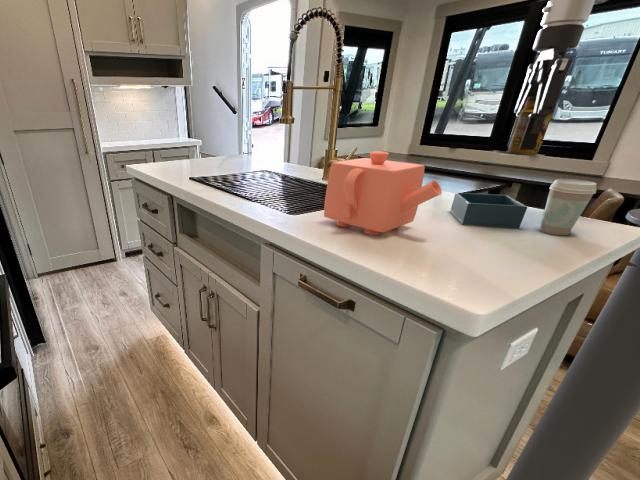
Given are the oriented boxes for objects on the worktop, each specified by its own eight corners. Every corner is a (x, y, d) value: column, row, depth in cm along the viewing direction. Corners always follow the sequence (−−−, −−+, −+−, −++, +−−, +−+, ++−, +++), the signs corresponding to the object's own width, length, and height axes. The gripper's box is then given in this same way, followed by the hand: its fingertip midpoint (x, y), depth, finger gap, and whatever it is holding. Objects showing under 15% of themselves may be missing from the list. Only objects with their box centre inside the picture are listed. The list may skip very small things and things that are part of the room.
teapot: (449, 231, 89) (471, 154, 80) (402, 252, 76) (423, 164, 68) (361, 211, 106) (372, 145, 97) (311, 225, 93) (319, 151, 84)
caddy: (500, 215, 102) (507, 195, 100) (519, 228, 91) (527, 206, 88) (449, 211, 105) (455, 192, 103) (461, 224, 94) (468, 203, 91)
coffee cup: (524, 227, 92) (543, 178, 86) (552, 225, 93) (572, 177, 88) (555, 238, 85) (578, 186, 79) (585, 236, 86) (610, 184, 80)
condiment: (545, 156, 81) (568, 95, 76) (504, 155, 83) (524, 96, 77) (529, 152, 88) (549, 96, 82) (491, 152, 89) (508, 96, 83)
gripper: (521, 34, 82) (488, 143, 93) (565, 17, 66) (518, 152, 77) (559, 33, 81) (520, 144, 92) (613, 15, 65) (558, 153, 76)
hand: (519, 147), depth 85 cm, fingers closed on condiment, 6 cm apart
